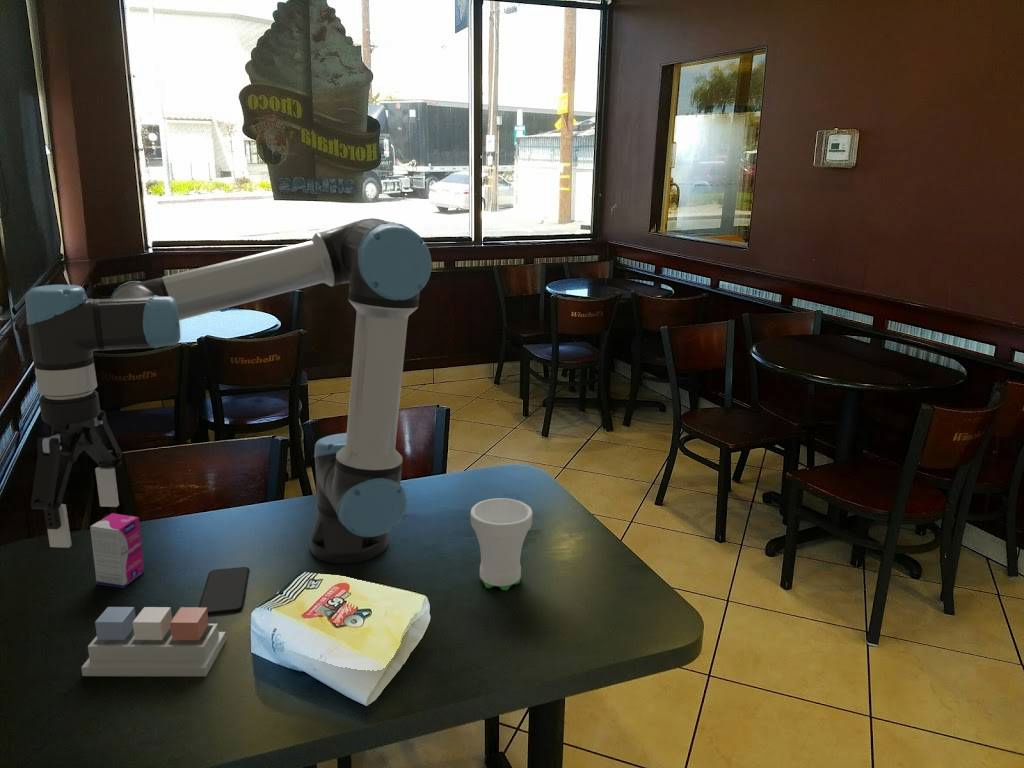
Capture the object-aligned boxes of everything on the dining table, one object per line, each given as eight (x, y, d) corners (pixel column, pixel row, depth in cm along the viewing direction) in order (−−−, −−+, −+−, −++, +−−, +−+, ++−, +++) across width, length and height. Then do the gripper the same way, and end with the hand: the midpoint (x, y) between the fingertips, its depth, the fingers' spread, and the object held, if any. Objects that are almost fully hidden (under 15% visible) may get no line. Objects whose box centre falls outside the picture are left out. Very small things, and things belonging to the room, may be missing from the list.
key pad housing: (226, 639, 121) (224, 618, 120) (205, 676, 113) (203, 653, 112) (111, 639, 121) (108, 617, 120) (82, 676, 112) (78, 652, 111)
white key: (172, 624, 117) (170, 607, 117) (162, 639, 114) (159, 622, 113) (146, 624, 117) (144, 607, 116) (134, 639, 114) (132, 622, 113)
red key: (208, 624, 118) (207, 607, 117) (199, 640, 114) (197, 622, 113) (182, 624, 118) (180, 607, 117) (172, 639, 114) (170, 622, 113)
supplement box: (124, 588, 135) (117, 530, 132) (95, 584, 136) (87, 526, 133) (146, 572, 140) (139, 515, 137) (118, 568, 142) (110, 512, 138)
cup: (457, 580, 140) (457, 510, 136) (499, 559, 148) (500, 492, 144) (501, 604, 133) (503, 531, 129) (542, 581, 141) (545, 511, 137)
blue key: (136, 624, 117) (134, 607, 116) (124, 639, 113) (122, 622, 113) (110, 623, 117) (107, 606, 116) (97, 639, 113) (94, 622, 112)
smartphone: (250, 565, 143) (242, 608, 129) (250, 570, 143) (242, 613, 129) (208, 569, 141) (196, 613, 127) (209, 574, 141) (196, 618, 127)
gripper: (89, 369, 123) (104, 490, 129) (-16, 419, 99) (9, 565, 105) (135, 370, 123) (149, 492, 129) (42, 420, 99) (64, 566, 105)
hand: (86, 525), depth 117 cm, fingers open, 13 cm apart
